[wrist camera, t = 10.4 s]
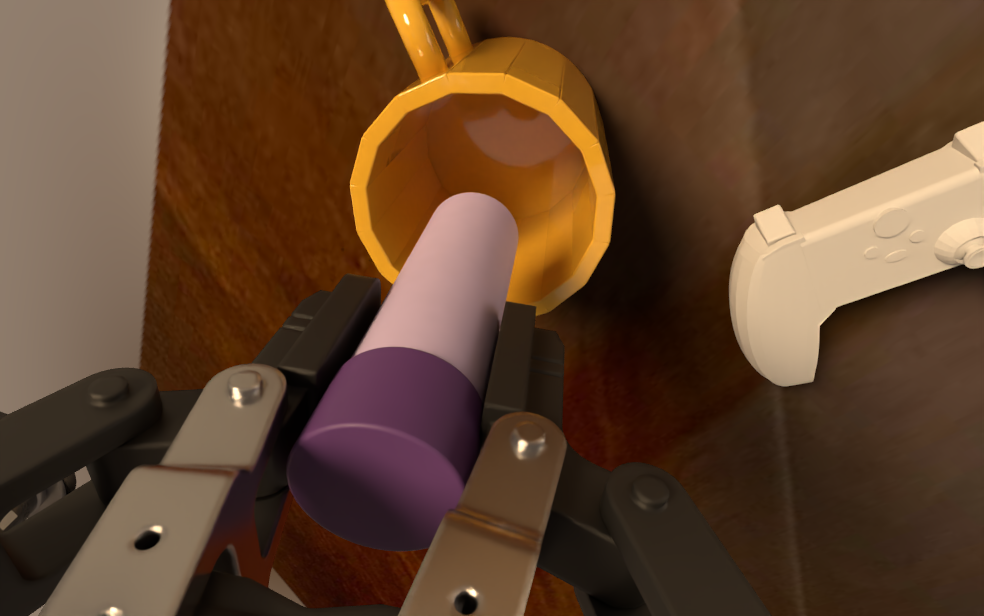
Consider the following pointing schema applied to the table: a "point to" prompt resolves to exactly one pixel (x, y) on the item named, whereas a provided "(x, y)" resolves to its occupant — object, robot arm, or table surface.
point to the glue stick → (412, 388)
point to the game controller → (853, 252)
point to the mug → (488, 153)
